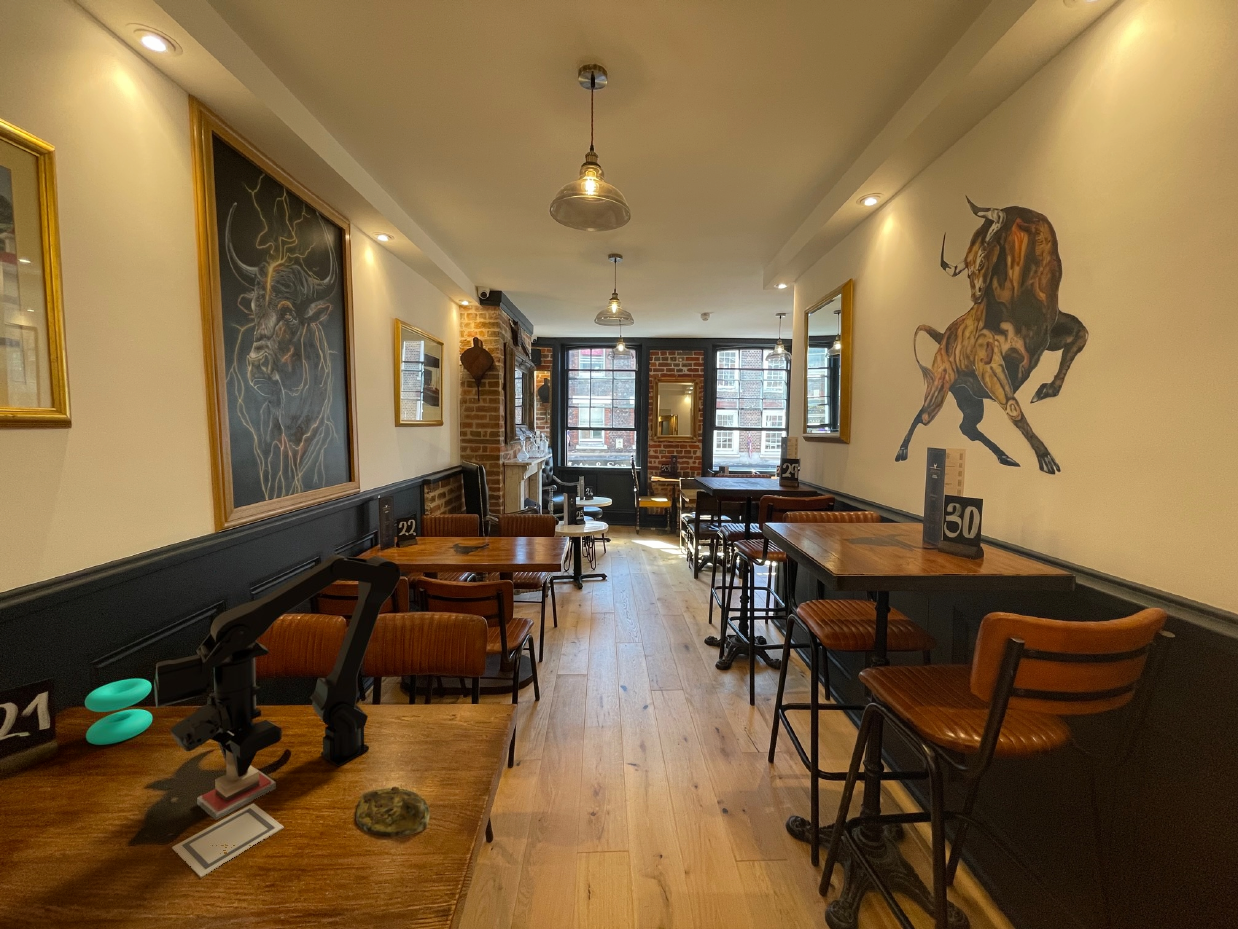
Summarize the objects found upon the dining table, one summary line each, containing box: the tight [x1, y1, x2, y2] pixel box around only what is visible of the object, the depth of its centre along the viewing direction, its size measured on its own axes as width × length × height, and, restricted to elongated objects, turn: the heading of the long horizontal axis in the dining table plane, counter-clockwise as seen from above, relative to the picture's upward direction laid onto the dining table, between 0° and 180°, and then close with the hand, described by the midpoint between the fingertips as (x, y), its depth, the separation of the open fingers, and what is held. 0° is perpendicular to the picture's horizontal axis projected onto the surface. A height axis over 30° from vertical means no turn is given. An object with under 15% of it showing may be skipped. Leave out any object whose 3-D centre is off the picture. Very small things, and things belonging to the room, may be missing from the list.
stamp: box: [214, 741, 260, 801], centre depth 89 cm, size 5×4×8 cm
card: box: [171, 803, 285, 879], centre depth 80 cm, size 11×10×1 cm
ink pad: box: [196, 768, 277, 821], centre depth 89 cm, size 9×7×2 cm
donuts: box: [84, 678, 153, 746], centre depth 107 cm, size 10×10×10 cm
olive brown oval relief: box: [355, 786, 431, 838], centre depth 85 cm, size 9×5×15 cm
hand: (237, 772), depth 89 cm, fingers closed on stamp, 3 cm apart
